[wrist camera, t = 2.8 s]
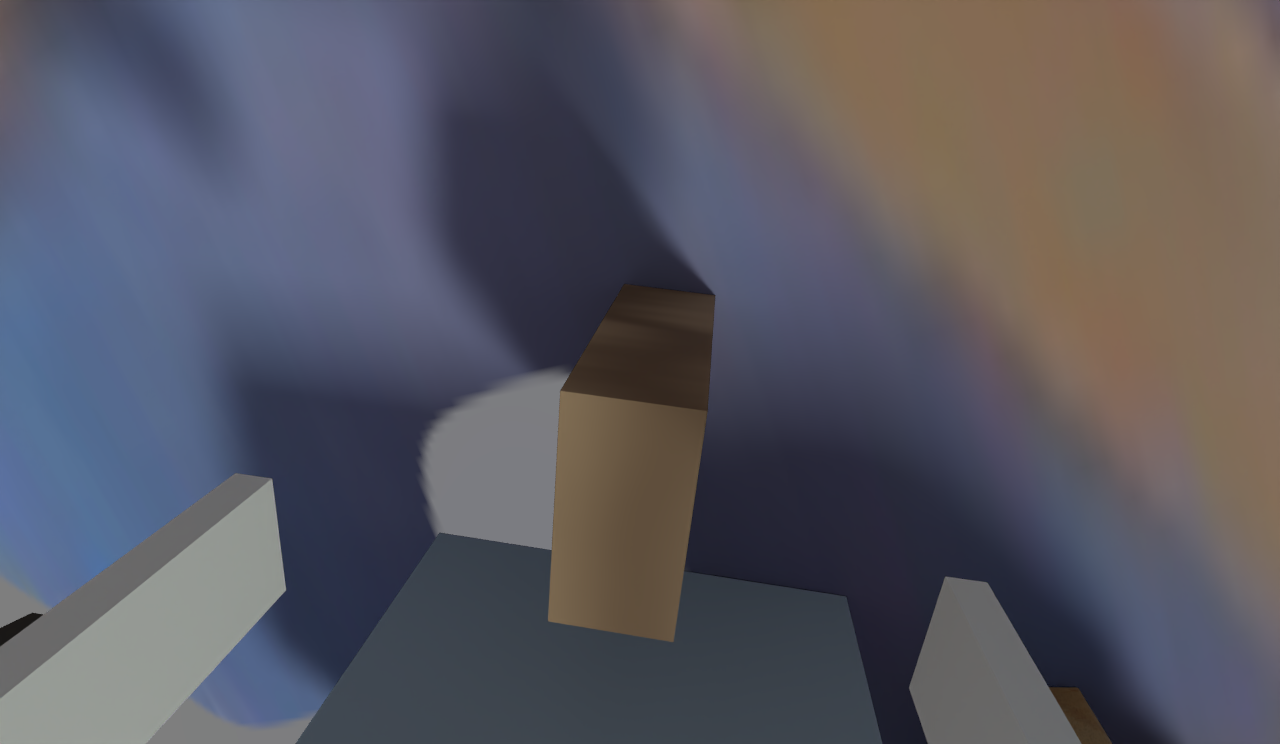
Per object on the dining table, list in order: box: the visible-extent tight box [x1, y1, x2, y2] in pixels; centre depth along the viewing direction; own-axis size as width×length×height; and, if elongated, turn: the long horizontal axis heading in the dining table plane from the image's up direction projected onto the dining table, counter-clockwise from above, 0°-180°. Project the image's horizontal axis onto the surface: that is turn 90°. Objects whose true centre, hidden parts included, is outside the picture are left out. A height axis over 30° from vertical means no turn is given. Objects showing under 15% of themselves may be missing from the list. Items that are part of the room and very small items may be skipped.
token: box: [548, 284, 715, 642], centre depth 19 cm, size 3×6×9 cm, turn 174°
